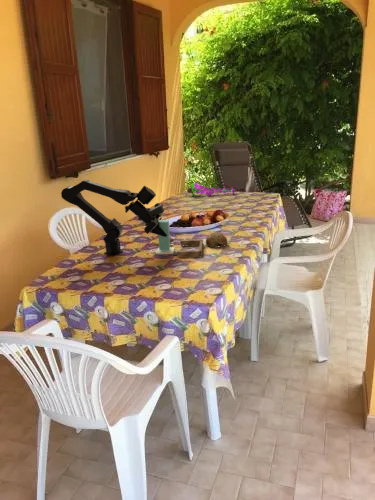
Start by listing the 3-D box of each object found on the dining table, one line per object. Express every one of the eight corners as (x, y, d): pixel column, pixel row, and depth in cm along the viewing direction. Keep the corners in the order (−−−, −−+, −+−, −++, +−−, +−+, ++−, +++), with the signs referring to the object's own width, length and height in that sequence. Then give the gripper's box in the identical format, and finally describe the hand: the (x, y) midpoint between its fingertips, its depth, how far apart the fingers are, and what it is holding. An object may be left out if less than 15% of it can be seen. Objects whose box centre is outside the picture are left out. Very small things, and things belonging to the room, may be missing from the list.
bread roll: (208, 255, 203) (210, 242, 197) (202, 240, 210) (203, 228, 204) (228, 252, 205) (230, 239, 200) (221, 238, 212) (223, 225, 207)
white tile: (155, 254, 196) (155, 253, 196) (157, 248, 204) (157, 247, 204) (173, 253, 195) (173, 252, 195) (174, 248, 203) (174, 247, 203)
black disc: (179, 256, 192) (179, 255, 191) (170, 255, 194) (170, 254, 194) (186, 253, 195) (186, 252, 195) (177, 251, 198) (177, 251, 198)
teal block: (159, 250, 197) (157, 222, 193) (160, 246, 201) (158, 220, 197) (169, 249, 197) (167, 222, 193) (170, 246, 201) (168, 219, 197)
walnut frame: (177, 257, 191) (177, 251, 190) (180, 245, 207) (180, 240, 207) (201, 256, 190) (201, 251, 189) (203, 244, 206) (202, 239, 206)
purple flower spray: (186, 201, 324) (232, 202, 326) (187, 193, 308) (236, 194, 309) (186, 185, 326) (232, 186, 328) (187, 177, 310) (236, 178, 312)
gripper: (149, 203, 183) (176, 227, 186) (155, 194, 201) (180, 217, 204) (133, 221, 186) (160, 245, 189) (140, 211, 204) (164, 233, 207)
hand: (167, 234), depth 197 cm, fingers closed on teal block, 4 cm apart
